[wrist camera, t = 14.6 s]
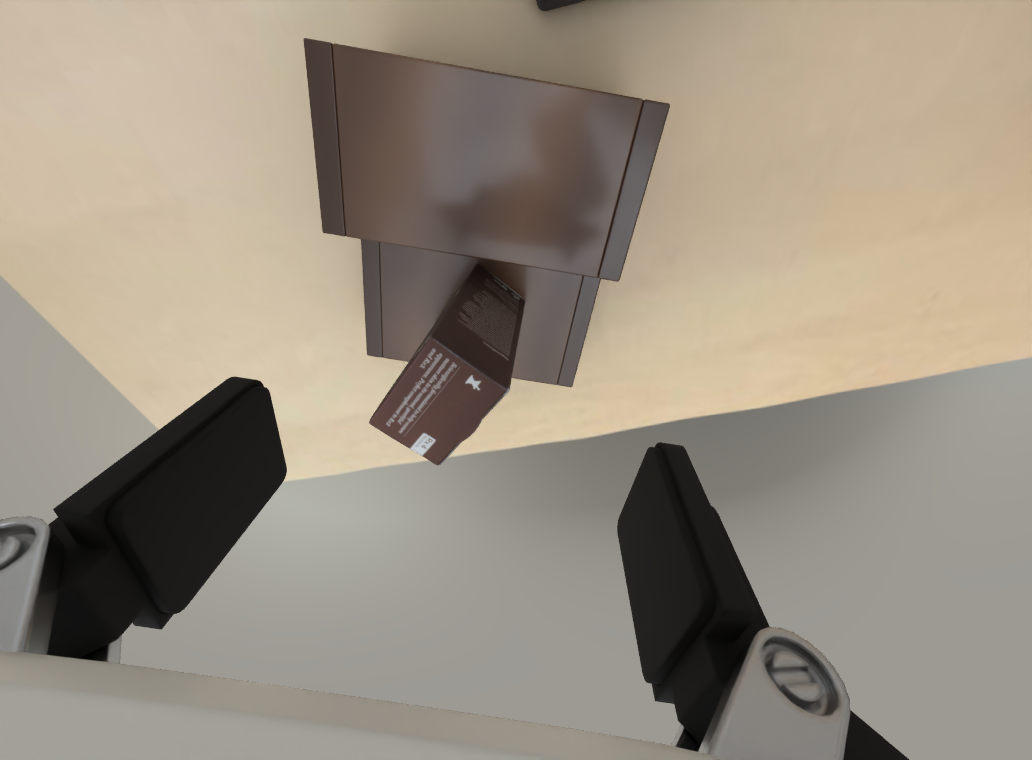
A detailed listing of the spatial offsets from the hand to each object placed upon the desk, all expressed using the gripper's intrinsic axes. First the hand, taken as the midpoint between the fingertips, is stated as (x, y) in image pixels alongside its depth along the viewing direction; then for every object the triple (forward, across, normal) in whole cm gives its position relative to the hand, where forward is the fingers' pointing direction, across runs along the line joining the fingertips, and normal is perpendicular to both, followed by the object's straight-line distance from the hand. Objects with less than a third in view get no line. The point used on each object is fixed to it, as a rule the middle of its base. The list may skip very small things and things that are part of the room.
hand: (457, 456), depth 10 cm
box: (+19, +2, +4) cm, 20 cm away
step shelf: (+24, +2, -1) cm, 24 cm away
